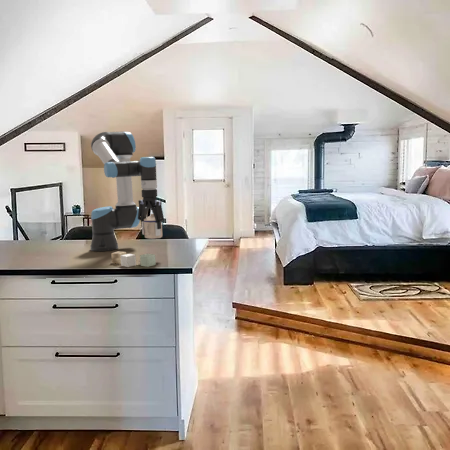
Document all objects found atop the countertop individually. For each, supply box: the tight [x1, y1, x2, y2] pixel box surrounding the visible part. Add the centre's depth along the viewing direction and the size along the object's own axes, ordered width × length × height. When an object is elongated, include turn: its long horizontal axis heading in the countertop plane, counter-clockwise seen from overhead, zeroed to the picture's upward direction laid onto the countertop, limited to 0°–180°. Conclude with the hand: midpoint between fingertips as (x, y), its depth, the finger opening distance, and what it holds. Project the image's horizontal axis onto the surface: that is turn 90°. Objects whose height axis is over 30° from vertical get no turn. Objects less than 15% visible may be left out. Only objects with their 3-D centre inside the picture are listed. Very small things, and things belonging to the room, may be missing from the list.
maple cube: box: [110, 251, 127, 265], centre depth 251 cm, size 5×5×5 cm
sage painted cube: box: [139, 253, 157, 268], centre depth 243 cm, size 5×5×5 cm
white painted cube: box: [120, 253, 137, 268], centre depth 244 cm, size 5×5×5 cm
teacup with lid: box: [144, 213, 163, 240], centre depth 253 cm, size 12×9×12 cm
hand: (151, 234), depth 254 cm, fingers closed on teacup with lid, 8 cm apart
